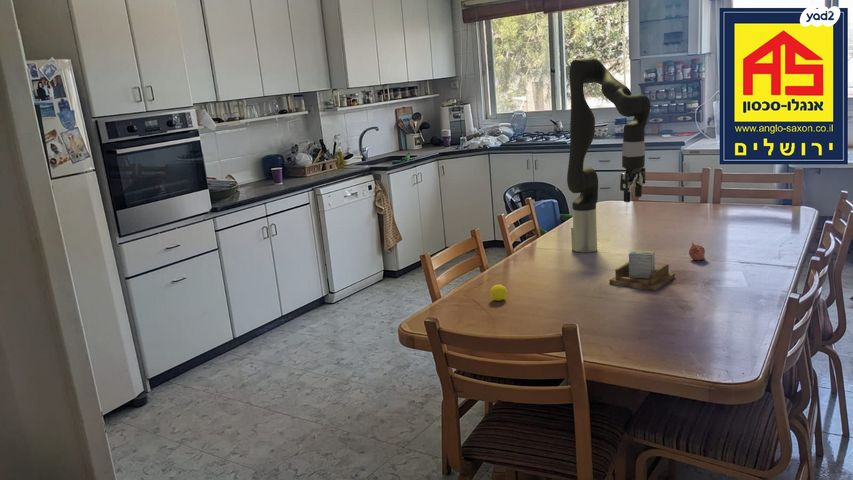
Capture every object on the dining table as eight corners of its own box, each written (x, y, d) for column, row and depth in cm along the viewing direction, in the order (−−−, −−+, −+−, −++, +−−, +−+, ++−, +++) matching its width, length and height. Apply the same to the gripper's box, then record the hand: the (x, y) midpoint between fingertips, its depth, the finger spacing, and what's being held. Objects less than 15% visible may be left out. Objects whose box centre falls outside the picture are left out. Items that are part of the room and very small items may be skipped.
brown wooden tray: (609, 283, 227) (609, 269, 226) (630, 271, 238) (630, 257, 237) (654, 291, 216) (654, 276, 215) (674, 277, 228) (674, 263, 226)
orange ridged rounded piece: (683, 246, 242) (696, 237, 241) (683, 249, 249) (696, 240, 248) (697, 264, 239) (710, 255, 238) (697, 266, 247) (710, 257, 245)
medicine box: (654, 275, 227) (654, 250, 225) (653, 279, 223) (653, 254, 221) (631, 274, 230) (630, 250, 228) (628, 278, 226) (628, 253, 224)
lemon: (496, 297, 225) (496, 282, 224) (510, 299, 222) (510, 283, 221) (486, 301, 219) (486, 285, 219) (500, 303, 216) (500, 287, 216)
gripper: (632, 150, 237) (632, 194, 242) (613, 156, 228) (613, 202, 232) (653, 151, 232) (651, 196, 237) (634, 157, 223) (633, 204, 227)
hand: (632, 199), depth 235 cm, fingers open, 8 cm apart
